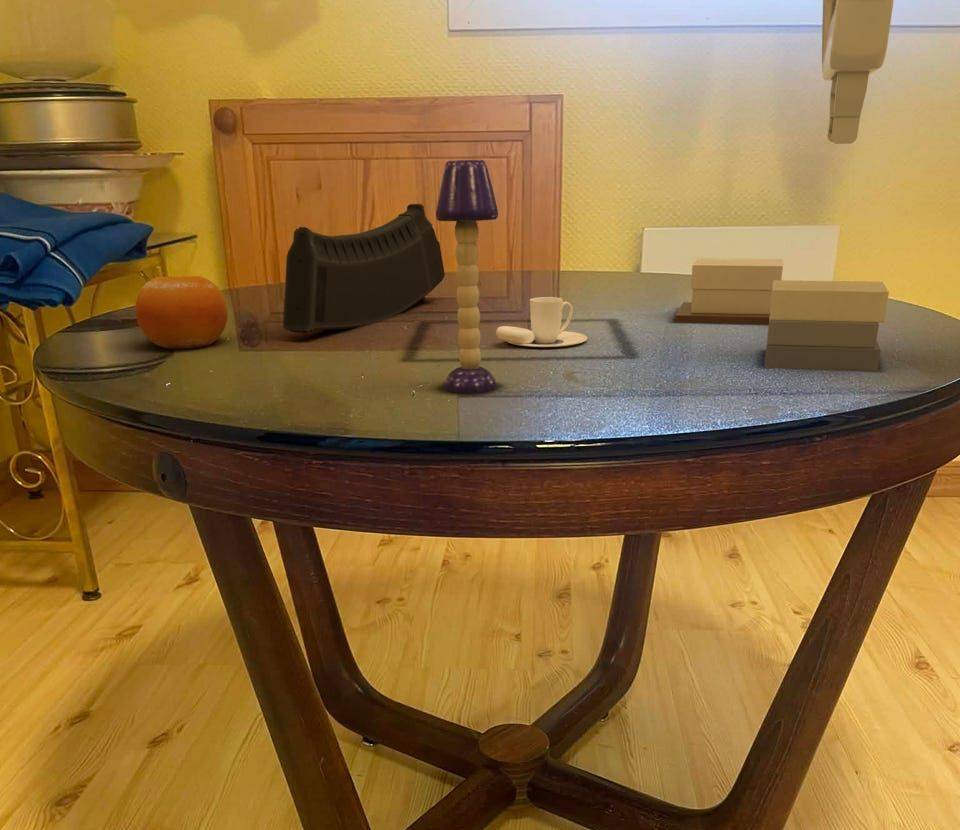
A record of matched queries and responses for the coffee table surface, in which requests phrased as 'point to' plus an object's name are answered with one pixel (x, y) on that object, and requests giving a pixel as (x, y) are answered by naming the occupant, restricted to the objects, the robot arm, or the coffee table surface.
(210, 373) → the coffee table surface
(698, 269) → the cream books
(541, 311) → the teacup and saucer
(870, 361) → the brown rectangular block
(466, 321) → the toy lamp
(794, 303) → the tan flat block
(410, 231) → the magazine
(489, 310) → the coffee table surface
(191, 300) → the fruit
